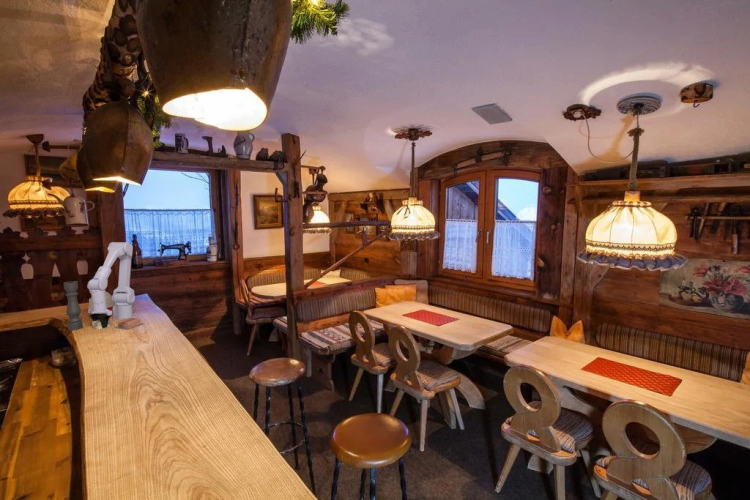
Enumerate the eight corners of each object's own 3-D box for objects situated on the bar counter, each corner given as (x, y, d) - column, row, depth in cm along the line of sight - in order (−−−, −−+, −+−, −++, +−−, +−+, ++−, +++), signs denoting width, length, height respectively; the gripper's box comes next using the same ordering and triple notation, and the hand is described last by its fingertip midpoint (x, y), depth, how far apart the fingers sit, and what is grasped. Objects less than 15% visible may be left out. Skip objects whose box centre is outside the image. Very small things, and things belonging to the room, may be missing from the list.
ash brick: (93, 331, 193) (92, 322, 192) (104, 327, 198) (103, 318, 198) (98, 332, 191) (97, 322, 191) (110, 328, 197) (109, 319, 196)
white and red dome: (82, 311, 229) (80, 287, 227) (101, 305, 242) (99, 282, 240) (102, 312, 227) (100, 288, 225) (121, 306, 240) (119, 283, 239)
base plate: (113, 330, 193) (113, 327, 193) (131, 324, 203) (131, 322, 203) (127, 332, 190) (127, 329, 190) (145, 326, 200) (145, 323, 200)
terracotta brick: (118, 327, 194) (117, 321, 194) (130, 323, 201) (130, 317, 200) (128, 328, 192) (127, 322, 192) (140, 324, 199) (139, 318, 198)
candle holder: (84, 328, 197) (79, 282, 194) (69, 331, 192) (63, 284, 189) (81, 326, 201) (77, 280, 198) (67, 328, 196) (61, 282, 193)
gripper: (81, 302, 191) (83, 328, 193) (101, 304, 187) (103, 331, 188) (95, 299, 198) (97, 324, 200) (115, 301, 193) (117, 326, 195)
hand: (101, 327), depth 195 cm, fingers closed on ash brick, 4 cm apart
